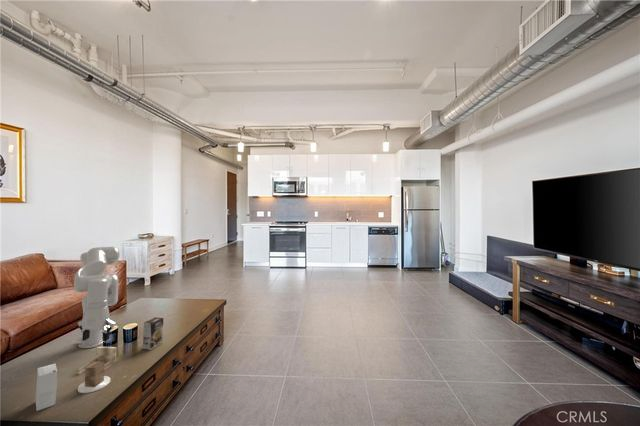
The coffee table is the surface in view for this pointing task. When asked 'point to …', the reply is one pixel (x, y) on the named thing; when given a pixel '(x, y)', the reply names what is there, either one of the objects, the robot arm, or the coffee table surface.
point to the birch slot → (103, 357)
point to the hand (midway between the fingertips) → (96, 339)
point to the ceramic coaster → (92, 389)
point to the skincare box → (46, 386)
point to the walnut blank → (94, 374)
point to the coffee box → (153, 333)
